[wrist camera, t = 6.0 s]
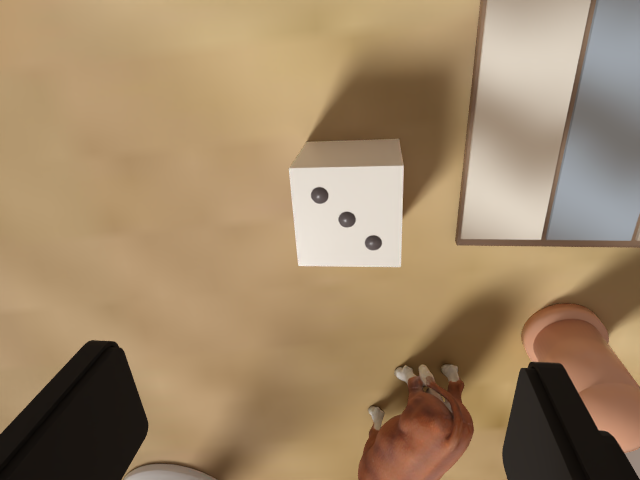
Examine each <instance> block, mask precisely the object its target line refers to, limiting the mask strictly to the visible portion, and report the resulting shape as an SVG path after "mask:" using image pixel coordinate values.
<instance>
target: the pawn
mask: <svg viewBox="0 0 640 480" xmlns="http://www.w3.org/2000/svg"><path fill="white" fill-rule="evenodd" d="M521 339H522V343H523V345H524V348H525V350H526V352H527V354H528V356H529V358H530V360H531V361H532V362H551V363H560V364H562V365H563V366H564V368H565V369H566V371H567V373H568V375H569V377H570V379H571V380H572V382H573V384H574V386H575V388H576V390H577V391H578V393H579V395H580V397H581V399H582V401H583V402H584V404H585V406H586V408H587V410H588V411H589V413H590V415H591V417H592V419H593V421H594V422H595V424H596V426H597V428H598V430H602V431H607V432H609V433H610V434H611V435H612V436H614V438H615V439H616V441H617V442H618V443H619V445H620V447H621V448H622V450H623V452H624V453H626V452H631V451H634V450H637V449H639V448H640V387H639V385H638V384H637V383H636V381H635V380H634V379H633V377H632V376H631V374H630V373H629V372H628V370H627V369H626V368H625V366H624V365H623V363H622V362H621V361H620V359H619V358H618V357H617V355H616V354H615V352H614V351H613V350H612V348H611V347H610V346H609V344H608V342H609V336H608V332H607V330H606V328H605V326H604V325H603V324H602V322H601V321H600V320H599V318H598V317H597V316H596V315H595V313H593V312H592V311H591V310H590V309H588V308H586V307H584V306H581V305H577V304H570V303H562V304H555V305H551V306H548V307H546V308H543V309H541V310H539V311H538V312H536V313H535V314H533V315H532V316H531V317H530V318H529V319H528V320H527V322H526V323H525V325H524V327H523V329H522V334H521Z"/></svg>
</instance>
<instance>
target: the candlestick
mask: <svg viewBox="0 0 640 480" xmlns="http://www.w3.org/2000/svg"><path fill="white" fill-rule="evenodd" d="M123 480H217V479H215V478H213V477H211V476H209V475H207V474H205V473H203V472H200V471H197V470H194V469H191V468H188V467H184V466H179V465H172V464H151V465H145V466H142V467H139V468H136V469H134V470H133V471H131V472H130V473H128V474H127V475H126V476H125V478H124V479H123Z"/></svg>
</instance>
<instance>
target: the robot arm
mask: <svg viewBox="0 0 640 480" xmlns="http://www.w3.org/2000/svg"><path fill="white" fill-rule="evenodd" d="M147 432H148V420H147V417H146V414H145V411H144V409H143V406H142V403H141V400H140V397H139V394H138V391H137V388H136V385H135V382H134V379H133V376H132V373H131V370H130V368H129V365H128V362H127V359H126V356H125V353H124V351H123V349H122V348H119V346H118V344H117V343H116V342H113V341H95V340H91V341H89V342H87V343H86V344H85V345H84V346H83V347H82V348H81V349H80V350H79V351H78V352H77V353H76V354H75V355H74V356H73V357H72V358H71V360H70V361H69V362H68V363H67V364H66V365H65V366H64V367H63V368H62V369H61V370H60V371H59V372H58V373H57V374H56V376H55V377H54V378H53V379H52V380H51V381H50V382H49V383H48V384H47V385H46V386H45V387H44V388H43V389H42V390H41V392H40V393H39V394H38V395H37V396H36V397H35V398H34V399H33V400H32V401H31V402H30V403H29V404H28V405H27V407H26V408H25V409H24V410H23V411H22V412H21V413H20V414H19V415H18V416H17V417H16V418H15V419H14V420H13V421H12V423H11V424H10V425H9V426H8V427H7V428H6V429H5V430H4V431H3V432H2V433H1V434H0V480H121V479H122V477H123V476H124V474H125V472H126V471H127V469H128V467H129V465H130V464H131V462H132V460H133V458H134V457H135V455H136V453H137V451H138V450H139V448H140V446H141V444H142V443H143V441H144V439H145V437H146V435H147ZM502 456H503V464H504V468H505V472H506V475H507V479H508V480H640V479H639V478H638V476H637V474H636V473H635V471H634V469H633V467H632V466H631V464H630V462H629V460H628V459H627V457H626V455H625V454H624V452H623V450H622V448H621V447H620V445H619V443H618V442H617V441H616V439H615V438H614V436H612V435H611V434H610V433H609V432H607V431H602V430H598V428H597V426H596V424H595V422H594V421H593V419H592V417H591V415H590V413H589V411H588V410H587V408H586V406H585V404H584V402H583V401H582V399H581V397H580V395H579V393H578V391H577V390H576V388H575V386H574V384H573V382H572V380H571V379H570V377H569V375H568V373H567V371H566V369H565V368H564V366H563V365H562V364H560V363H551V362H530V364H529V366H528V368H521V369H520V372H519V377H518V381H517V386H516V390H515V395H514V399H513V404H512V409H511V413H510V418H509V422H508V427H507V432H506V436H505V441H504V445H503V452H502Z"/></svg>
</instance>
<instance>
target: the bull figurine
mask: <svg viewBox="0 0 640 480" xmlns="http://www.w3.org/2000/svg"><path fill="white" fill-rule="evenodd" d="M441 372H442V373H443V374H444V375H445V376H446V377H447V378H448V381H449V385H448V391H446V390H445V389H443V388H441V387H440V386H438V385H437V384H436V383H435V380H434V376H433V375H432V374H431V373H430V371H429V369H428V368H427V366H426V365H420V366H419V376H416V375H414V374H413V369H412V368H410V367H408V366H406V365H405V366H404V368H402V367H398V368H396V370H395V373H394V374H395V376H396V377H397V378H398V379H400V380H402V381H405V382H406V383H407V385H408V390H409V398H408V403H407V406H406V408H405V410H404V411H403V413H402V414H400V415H397V416H395V417H393V418H391V419H390V420H389V421H387V422H386V423H385V424H384V425H383V426H382V427H381V423H382V420H383V417H384V411H382V410H380V408H379V407H375V406H371V407H370V408H369V409H368V412H369V413H370V415H371V416H372V419H373V426H372V428H371V429H370V431H369V439H368V440H367V442H366V444H365V447H364V451H363V456H362V458H361V460H360V463H359V469H358V479H359V480H439V479H440V478H441V477H442V476H443V475H444V473H445V472H447V471H448V470H449V469H450V468H451V467H452V466H453V465H454V464H455V463H456V462H457V461H458V459H459V458H460V457H461V456H462V454H463V453H464V452H465V450H466V449H467V447H468V446H469V443H470V441H471V439H472V435H473V431H474V427H473V421H472V418H471V416H470V414H469V412H468V410H467V409H466V408H465V406H464V405H463V404H462V401H461V393H462V390H463V388H464V383H463V381H461V380H460V378H459V376H458V367H457V366H454V365H449V364H445V365H443V366H442V367H441ZM424 386H427V387H430V388H428V389H427V391H426V392H424V390H423V387H424ZM431 388H432V389H431ZM440 394H441V395H442V396H444V398H445V402H444V401H443V399H442V397H441V396H440Z"/></svg>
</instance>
